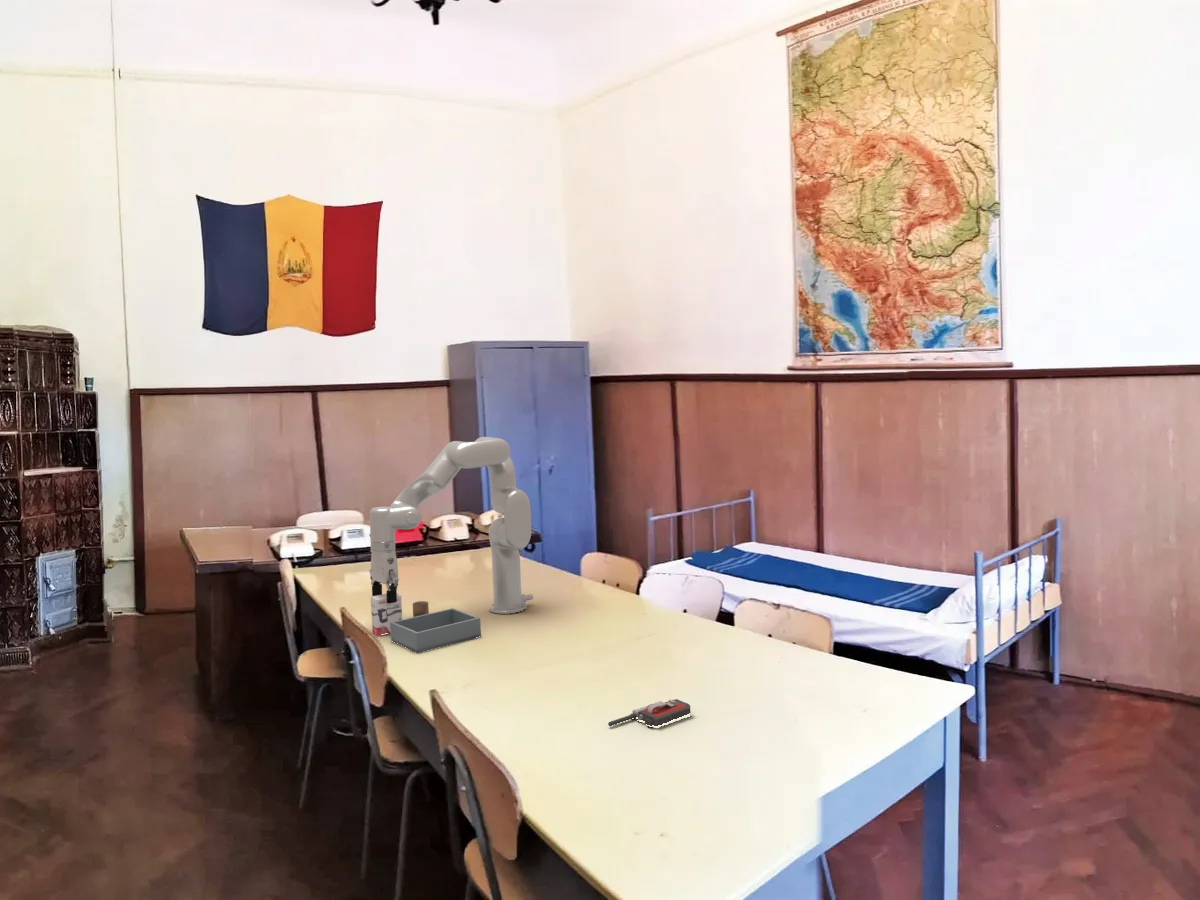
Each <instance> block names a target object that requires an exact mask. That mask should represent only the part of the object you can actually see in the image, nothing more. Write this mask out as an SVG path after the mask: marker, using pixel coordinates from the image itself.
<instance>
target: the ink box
mask: <svg viewBox="0 0 1200 900" xmlns="http://www.w3.org/2000/svg"><path fill="white" fill-rule="evenodd" d="M370 609H371V613H370V614H371V624H372V625H371V627H372V628H371V629H372V633H373V632H374V633H375V634H376V635H375V634H374V633H373V634H374V635H375V636H377V637H379V636H378V635H381V634H385V633H391V626H390V622H395V621H399V620H403V605H402V595H400V594H399V593H397V602H395V603H389V604H388V603H387V595H386V593H382V595H377V596H372V595H371V596H370ZM381 636H382V635H381Z"/></svg>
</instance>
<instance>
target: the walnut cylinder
mask: <svg viewBox="0 0 1200 900" xmlns="http://www.w3.org/2000/svg"><path fill="white" fill-rule="evenodd" d="M429 610H430V609H429V601H425V600H422V601H421V600H420V601H415V602H413V603H412V617H417V616H421V615H425V614H430V612H429Z"/></svg>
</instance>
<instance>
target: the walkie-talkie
mask: <svg viewBox="0 0 1200 900" xmlns="http://www.w3.org/2000/svg"><path fill="white" fill-rule="evenodd" d="M689 713H691V704H689V703H687V702H685V701H682V700H680V699H676V698H675V699H668V700H667V701H665V702H663V701H661V700H660V701H656V702H654V703H651V704H648V705H645V706H643V707H640V708H637V709H633V710H632V712H631V713H630V714H629V715H625V716H623V717H620V718H617V719H614V720H611V721H609V722H608V723H607V725H608V726H609V727H612V725H613V726H615V725H614V724H616V725H618V724H617V723H619V724H621V723H620V722H622V723H624V722H623V721H625V722H627V721H626V720H628V721H630V720H629V719H631V720H632V718H636V717H638V720H643V721H645V724H647V725H650V726H652V725H654V726H658V725H662V724H663V723H667V722H669V721H671V720H673V719H677V718H679V717H682V716H684V715H687V714H689ZM645 724H644V725H645Z"/></svg>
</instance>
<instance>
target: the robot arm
mask: <svg viewBox="0 0 1200 900" xmlns="http://www.w3.org/2000/svg"><path fill="white" fill-rule="evenodd" d="M510 455H511V446H510V445H509V443H508V442H507V441H506V440H505V439H502V438H500V437H492V436H481V437H478V438H477V439H475V441H460V440H453V441H451V442H449V443H447V444H446V445H445V446H444V447H443V448H442V450H441V451H440V452H439V453H438V454H437V456H436V457H435V458H434V459H433V461H432V462H431V463H430V465H429V466H428V467H427V468H426V469H425V471H424V472H423V473H422V474H421V475H419V476H418V477H417V478H416V479H414V480H413V481H412V482H411V483H410V484H408V485H407V486H405V488H403V490H402V491H401V492H400V493H399V494H398V496H397V497H396V498H395V499H394V501H393V502H392V503H391V504H390V506H376V507H375V506H374V507H372V508H370V511H369V532H370V533H369V536H370V541H369V542H370V552H371V555H370V556H371V557H370V563H371V564H370V569H369V575H370V577H369V578H370V580H371V582H370V583H371V594H372V595H371V597H372V596H377V595H383V585H385V586H386V589H387V590H386V592H385V594H386V595H387V603H388V604H389V603H395V602H397V594H398V593H397V590H398V586H399V581H400V580H399V579H400V578H399V568H398V566H399V565H398V559H397V554H396V530H413V529H415V528H417V527H418V526H419V525H420V523H421V521H422V514H421V511H420V510H419V509H418V507H419V506H420V504H422V502H424V501H425V500H427V499H428V498H430V497H432V496H435V495H438V494H439V493H441V492H442V491H444V490H445V489H446V488H447V487H448V485H449V484H450V483H451V481H452V480H453V479H454V478H455V477H456V476H457V475H458V473H459V471H461V469H477V468H484V467H487V470H488V472H489V477H490V479H489V480H490V503H491V507H492V509H493V511H494V512H496V513H497V514H500V515H504V517H499V518H496V519H495V520H493V521H492V522H491V524H490V526H489V529H488V538H489V540H488V541H489V545H490V549H491V563H492V564H491V565H492V568H491V569H492V591H493V604H490V605H489V607H488V608H489V611H490V612H491V613H494V614H500V615H509V614H510V613H511V614H517V613H516V612H518V613H521V612H524V611H525V610H526V609H527V604H526V603H525V602H527V601H532V600H533V599H534V594H532V593H530V594H524V593H522V578H521V572H522V571H521V555H520V550H524V549H525V548H526V547H527V546H528V545H529V543H530V540H531V538H532V537H531V536H532V516H531V513H532V512H531V502H530V499H529V497H528V495H527V494H526V492H524V490H522V489H520V488H517V479H516V471H515V465H514V463H513V460H512V458H511V457H510ZM524 609H525V610H524ZM523 610H524V611H523ZM520 611H521V612H520Z"/></svg>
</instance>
